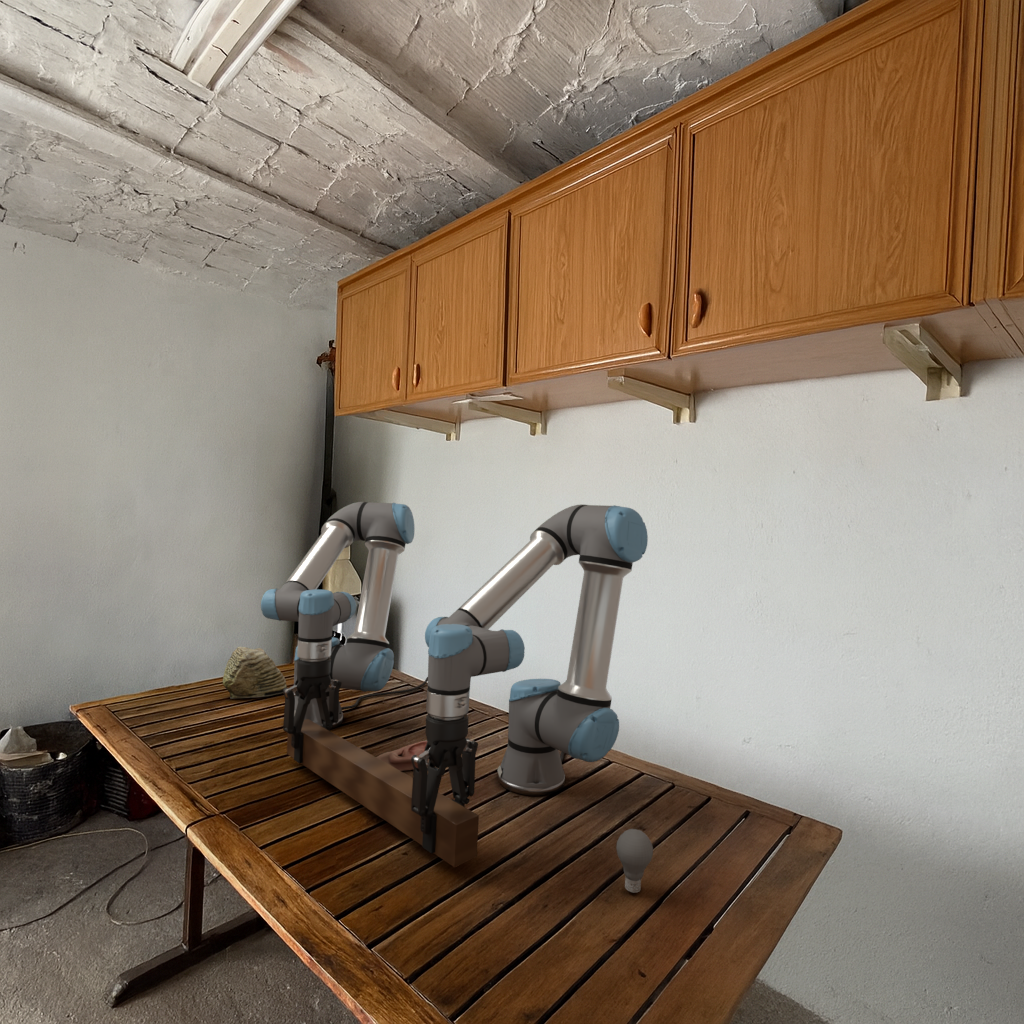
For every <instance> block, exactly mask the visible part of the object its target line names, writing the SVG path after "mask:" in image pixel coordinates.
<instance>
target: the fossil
mask: <svg viewBox="0 0 1024 1024" xmlns="http://www.w3.org/2000/svg"><path fill="white" fill-rule="evenodd" d="M222 676H223V677H222V685H223V687H224V688H225V690H226V691H228V693H229V698H230V699H250V698H264V697H271V696H275V695H281V694H284V693H283V689H284V688H288V686H287V680H286V678H285V676H284V674H283V673H282V672H281V669H279V668H278V667H277V665H276V663H275V662H274V660H273V659H272V658H271V657H270V656H269V655H268V654H267V653H266V652H265V650H264V649H263V648H260V647H258V648H251V647H247V646H246V647H245V646H238V647H237V648H236V649H235V650H233V651H232V653H231V656H230V657H229V659H228V660H227V663H226V666H225V668H224V671H223V675H222Z"/></svg>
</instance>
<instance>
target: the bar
mask: <svg viewBox="0 0 1024 1024" xmlns="http://www.w3.org/2000/svg"><path fill="white" fill-rule="evenodd" d="M301 733H302V734H304V739H303V763H300V764H301V765H302V766H304V767H306V769H308V770H310V771H311V772H313V773H315V775H317V776H319V777H320V778H322V779H323V780H325V781H326V782H328V783H329V784H330V785H332V786H334V787H335V788H336V789H338V790H339V791H341V792H342V793H344V794H345V795H347V796H348V797H349V798H351V799H352V800H354V801H355V802H357V803H359V804H360V805H362V806H363V807H364V808H366V809H367V810H368V811H370V812H371V813H373V814H375V815H376V816H378V817H379V818H381V819H382V820H384V821H385V822H386V823H388V824H390V825H391V826H393V827H394V828H395V829H397V830H398V831H399V832H402V833H403V834H404V835H406V836H407V837H409V839H412V840H413V841H414V842H416V843H418V844H419V845H420V846H422V841H423V832H421V830H420V824H421V816H420V815H418V814H416V813H415V812H413V811H412V810H411V801H412V785H413V776H410V775H409V774H407V773H405V772H403V771H399V770H398V769H396V768H394V767H392V766H391V765H389V764H387V763H385V762H383V761H382V760H380V759H378V758H376V757H377V756H374V755H373V754H371V753H369V752H367V751H366V750H364V749H363V748H360V747H359V746H357V745H355V744H353V743H352V742H350V741H348V740H346V739H344V738H342V737H341V736H339V735H337V734H336V733H334V732H332V731H331V730H330V731H329V730H327V729H325V728H323V727H321V726H320V725H318V724H316V723H314V722H313V721H311V720H309V719H306V720H304V722H303V725H302V729H301ZM286 739H287V740H286V741H287V743H286V755H288V756H289V757H290V758H292V759H294V748H293V747H292V746H291V734H289V733H287V738H286ZM433 813H435V814H436V815H437V823H436V846H435V852H434V853H433V854H434V855H435V856H437V857H438V858H440V859H441V860H442V861H444V862H446V863H447V864H448V865H450V866H452V867H453V868H456V867H458V866H461V865H462V864H465V863H466V862H468V861H471V860H472V859H475V858H477V857H478V843H479V842H478V841H479V822H480V821H479V820H480V815H479V814H478V813H476V812H474V811H473V810H470V809H468V808H466V806H465V807H463V806H462V805H460V804H458V803H456V802H454V801H453V800H452V799H451V798H449V797H448V796H445V795H444V794H442V793H440V792H438V795H437V799H436V803H435V807H434V812H433Z"/></svg>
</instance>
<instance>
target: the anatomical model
mask: <svg viewBox="0 0 1024 1024" xmlns="http://www.w3.org/2000/svg"><path fill="white" fill-rule="evenodd" d="M426 744H427V740H423V741H417V742H415V743H412V744H408V745H405V746H403V747H399V748H398V749H394V750H391V751H387V752H384V753H381V754H380V755H377V756H375V757H376V758H378V759H380V760H382V761H383V762H385V763H387V764H389V765H391V766H392V767H394V768H396V769H398V770H399V771H401V772H403V771H411V770H412V771H413V765H412V761H411V758H412V756H413V755H417V756H419V755H420V754H422V753H423V752H424V751H425V747H426ZM428 762H429V759H428Z"/></svg>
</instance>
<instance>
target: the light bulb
mask: <svg viewBox="0 0 1024 1024" xmlns="http://www.w3.org/2000/svg"><path fill="white" fill-rule="evenodd" d="M615 849H616V854H617V857H618V859H619V861H620V863H621V865H622V867H623V873H624V874H623V875H624V876H625V878H624V888H625V890H627V891H628V892H630V893H634V894H635V893H639V892H640V891H641V889H642V887H641V886H642V879H643V877H644V875H645V871H646V868H647V867H648V866H649V864H650V863H651V861H652V859H653V855H654V847H653V843H652V841H651V838H649V836H648V835H647V834H646V833H645V832H643V831H642V830H641V829H636V828H629V829H627V830H625V831H623V832H622V833H621V834H620V835H619V837H618V839H617V841H616V847H615Z"/></svg>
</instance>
